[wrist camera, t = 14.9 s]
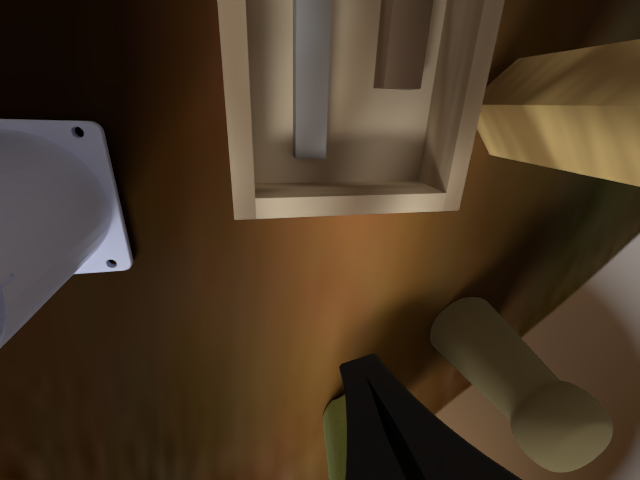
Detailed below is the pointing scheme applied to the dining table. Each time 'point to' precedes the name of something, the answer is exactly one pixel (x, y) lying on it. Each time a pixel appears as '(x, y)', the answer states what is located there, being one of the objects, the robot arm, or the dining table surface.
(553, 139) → the wooden block
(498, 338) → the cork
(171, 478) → the dining table surface
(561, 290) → the dining table surface
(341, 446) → the plant pot
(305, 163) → the toolbox
